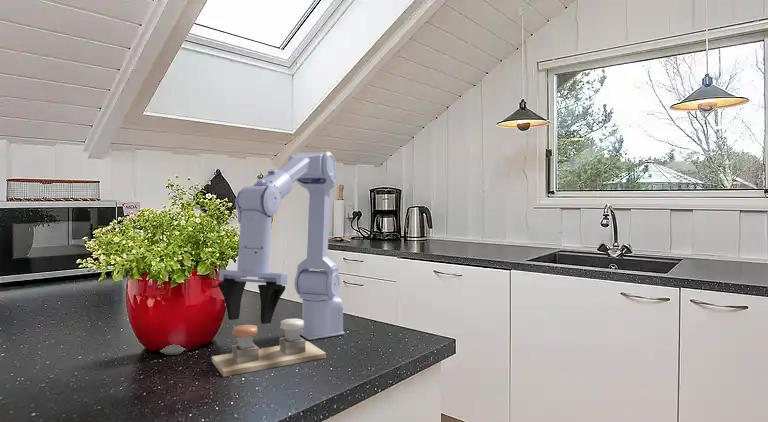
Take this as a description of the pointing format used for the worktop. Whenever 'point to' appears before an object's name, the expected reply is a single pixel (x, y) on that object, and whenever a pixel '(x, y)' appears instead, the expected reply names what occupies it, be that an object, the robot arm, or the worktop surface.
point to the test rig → (266, 357)
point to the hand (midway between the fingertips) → (249, 321)
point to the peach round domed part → (245, 335)
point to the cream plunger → (292, 328)
